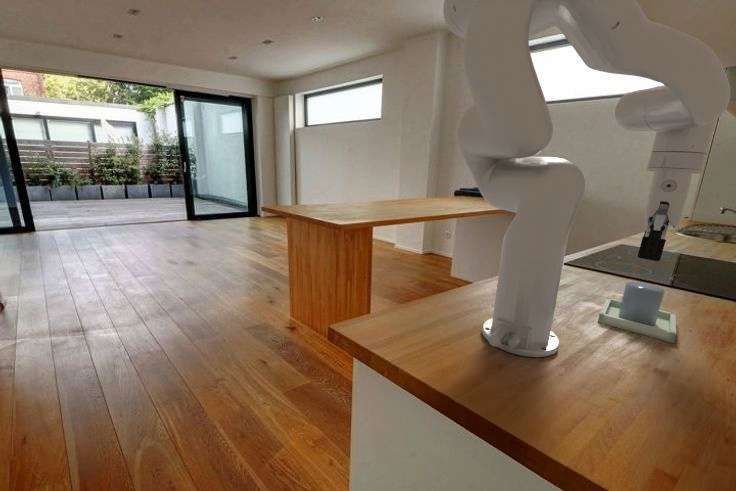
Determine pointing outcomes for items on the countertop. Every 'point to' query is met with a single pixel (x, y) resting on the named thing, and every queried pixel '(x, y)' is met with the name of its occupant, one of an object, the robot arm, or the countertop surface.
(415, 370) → the countertop surface
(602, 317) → the tray
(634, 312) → the blue grey cylinder
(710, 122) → the robot arm
